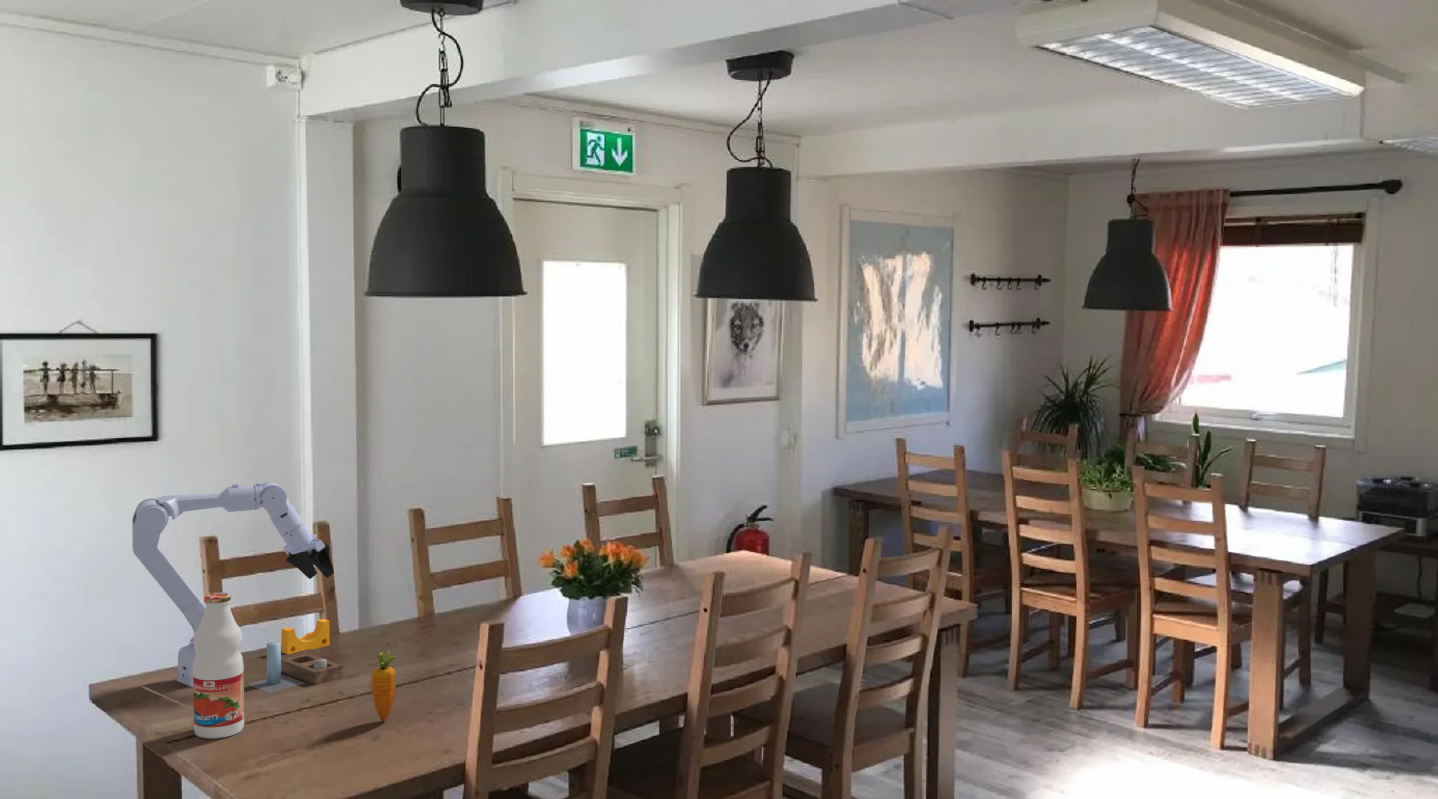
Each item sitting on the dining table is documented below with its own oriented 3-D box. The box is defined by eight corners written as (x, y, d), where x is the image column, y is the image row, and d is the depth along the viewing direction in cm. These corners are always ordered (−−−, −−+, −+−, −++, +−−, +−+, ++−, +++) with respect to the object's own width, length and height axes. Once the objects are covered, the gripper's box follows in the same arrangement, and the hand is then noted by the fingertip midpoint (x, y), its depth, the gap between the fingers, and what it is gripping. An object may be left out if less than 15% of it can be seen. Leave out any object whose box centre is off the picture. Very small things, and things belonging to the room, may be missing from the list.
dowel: (271, 685, 264) (271, 646, 263) (264, 682, 266) (263, 644, 265) (283, 682, 266) (283, 643, 266) (276, 679, 268) (276, 641, 267)
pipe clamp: (319, 642, 300) (319, 617, 299) (329, 645, 297) (329, 620, 297) (277, 653, 290) (277, 627, 290) (287, 656, 288) (287, 630, 287)
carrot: (386, 715, 248) (386, 646, 247) (401, 721, 245) (401, 650, 243) (366, 721, 244) (366, 651, 243) (380, 727, 241) (380, 655, 240)
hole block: (315, 686, 266) (315, 667, 265) (281, 673, 274) (281, 654, 274) (342, 678, 271) (342, 660, 271) (308, 666, 280) (308, 648, 279)
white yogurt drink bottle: (252, 724, 241) (251, 590, 239) (229, 740, 232) (228, 601, 230) (209, 721, 242) (207, 588, 240) (184, 738, 233) (182, 599, 230)
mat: (269, 694, 259) (269, 692, 259) (247, 685, 265) (247, 684, 265) (305, 684, 266) (305, 683, 266) (283, 676, 272) (283, 674, 272)
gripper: (321, 516, 272) (350, 564, 277) (289, 521, 282) (318, 567, 286) (297, 534, 268) (328, 582, 272) (265, 537, 277) (296, 584, 281)
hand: (321, 575), depth 278 cm, fingers open, 7 cm apart
